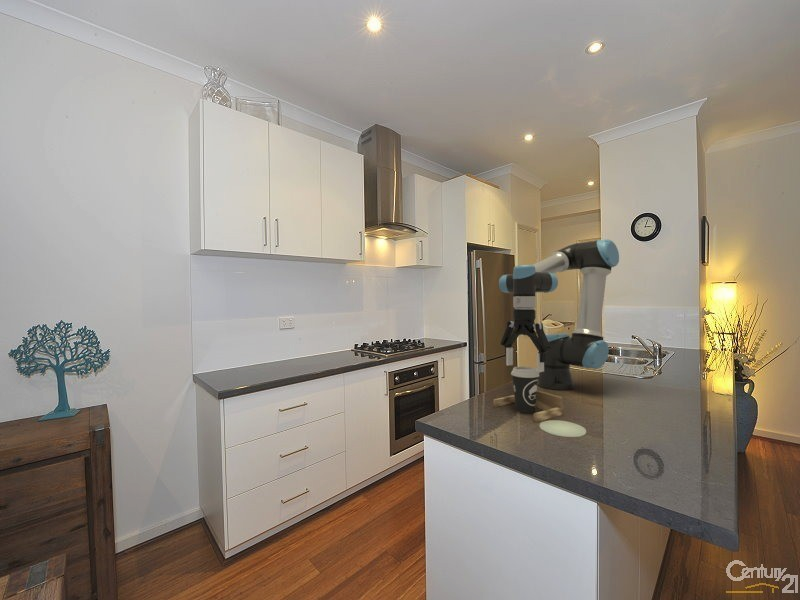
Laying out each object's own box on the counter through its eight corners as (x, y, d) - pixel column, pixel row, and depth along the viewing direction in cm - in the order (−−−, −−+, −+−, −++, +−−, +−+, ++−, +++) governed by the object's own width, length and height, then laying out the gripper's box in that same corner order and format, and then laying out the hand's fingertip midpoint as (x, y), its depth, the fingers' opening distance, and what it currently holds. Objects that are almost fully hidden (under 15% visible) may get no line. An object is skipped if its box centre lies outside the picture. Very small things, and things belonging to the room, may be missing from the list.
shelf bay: (518, 400, 136) (518, 385, 136) (563, 414, 119) (563, 397, 119) (493, 406, 129) (493, 390, 129) (536, 422, 112) (536, 403, 112)
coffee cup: (535, 406, 128) (534, 366, 128) (543, 415, 119) (542, 371, 118) (508, 406, 129) (508, 365, 129) (514, 414, 119) (514, 371, 119)
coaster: (557, 418, 115) (557, 417, 115) (595, 431, 104) (595, 430, 104) (530, 426, 109) (530, 425, 109) (568, 440, 98) (568, 439, 98)
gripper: (491, 308, 132) (491, 363, 132) (547, 309, 111) (547, 376, 111) (505, 307, 136) (505, 361, 136) (562, 309, 114) (562, 373, 114)
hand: (524, 368), depth 123 cm, fingers open, 13 cm apart
